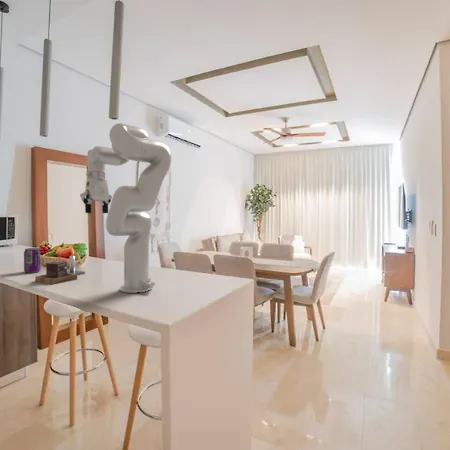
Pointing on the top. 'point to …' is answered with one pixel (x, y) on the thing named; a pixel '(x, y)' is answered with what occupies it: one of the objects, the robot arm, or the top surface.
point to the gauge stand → (72, 267)
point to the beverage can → (32, 260)
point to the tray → (55, 279)
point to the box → (56, 269)
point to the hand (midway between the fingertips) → (97, 213)
